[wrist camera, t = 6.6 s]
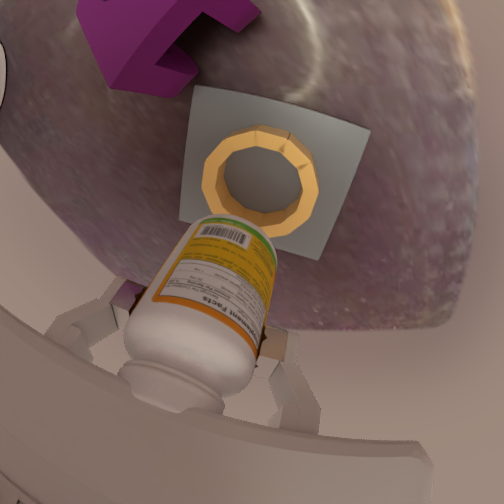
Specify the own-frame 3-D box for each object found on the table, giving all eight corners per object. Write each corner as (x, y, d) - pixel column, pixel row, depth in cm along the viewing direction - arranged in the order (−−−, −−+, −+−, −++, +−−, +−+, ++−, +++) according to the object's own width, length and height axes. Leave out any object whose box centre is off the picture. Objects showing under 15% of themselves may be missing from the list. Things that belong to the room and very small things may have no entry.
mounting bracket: (129, 18, 22) (193, 104, 21) (71, 2, 15) (109, 88, 14) (182, -39, 17) (277, 26, 16) (127, -67, 9) (210, -30, 9)
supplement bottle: (221, 299, 18) (166, 441, 10) (166, 235, 16) (70, 378, 8) (296, 273, 15) (266, 452, 8) (242, 192, 13) (146, 379, 6)
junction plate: (182, 215, 30) (168, 233, 27) (198, 84, 21) (182, 87, 18) (318, 254, 29) (317, 276, 27) (368, 128, 21) (377, 138, 18)
